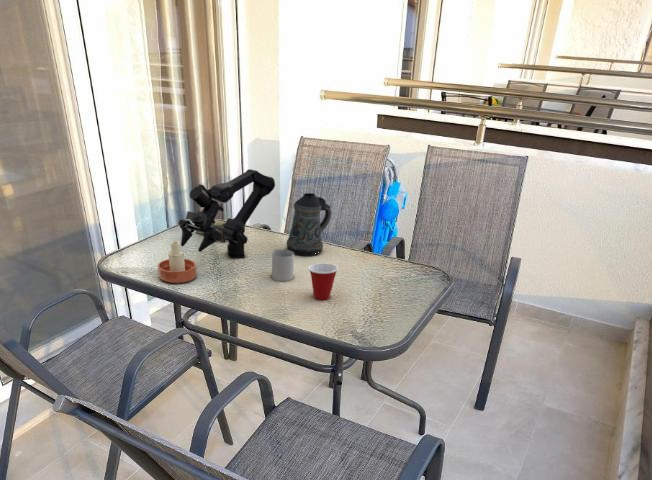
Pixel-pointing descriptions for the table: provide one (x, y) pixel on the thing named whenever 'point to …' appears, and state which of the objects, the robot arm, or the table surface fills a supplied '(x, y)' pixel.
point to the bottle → (176, 257)
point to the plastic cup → (322, 279)
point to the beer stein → (308, 225)
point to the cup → (282, 265)
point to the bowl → (179, 275)
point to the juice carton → (218, 226)
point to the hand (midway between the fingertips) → (190, 248)
